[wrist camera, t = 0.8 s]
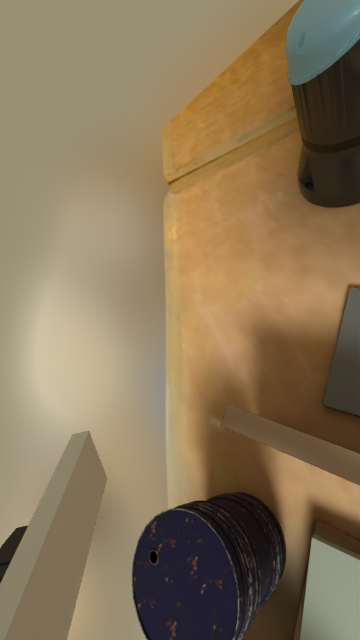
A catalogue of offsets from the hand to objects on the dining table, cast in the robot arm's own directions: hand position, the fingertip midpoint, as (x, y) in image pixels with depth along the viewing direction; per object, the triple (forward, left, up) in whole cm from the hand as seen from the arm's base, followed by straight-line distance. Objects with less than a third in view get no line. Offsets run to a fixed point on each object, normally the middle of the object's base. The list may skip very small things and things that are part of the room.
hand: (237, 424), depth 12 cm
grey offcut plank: (+14, +5, -26) cm, 29 cm away
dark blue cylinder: (+13, -5, -27) cm, 30 cm away
